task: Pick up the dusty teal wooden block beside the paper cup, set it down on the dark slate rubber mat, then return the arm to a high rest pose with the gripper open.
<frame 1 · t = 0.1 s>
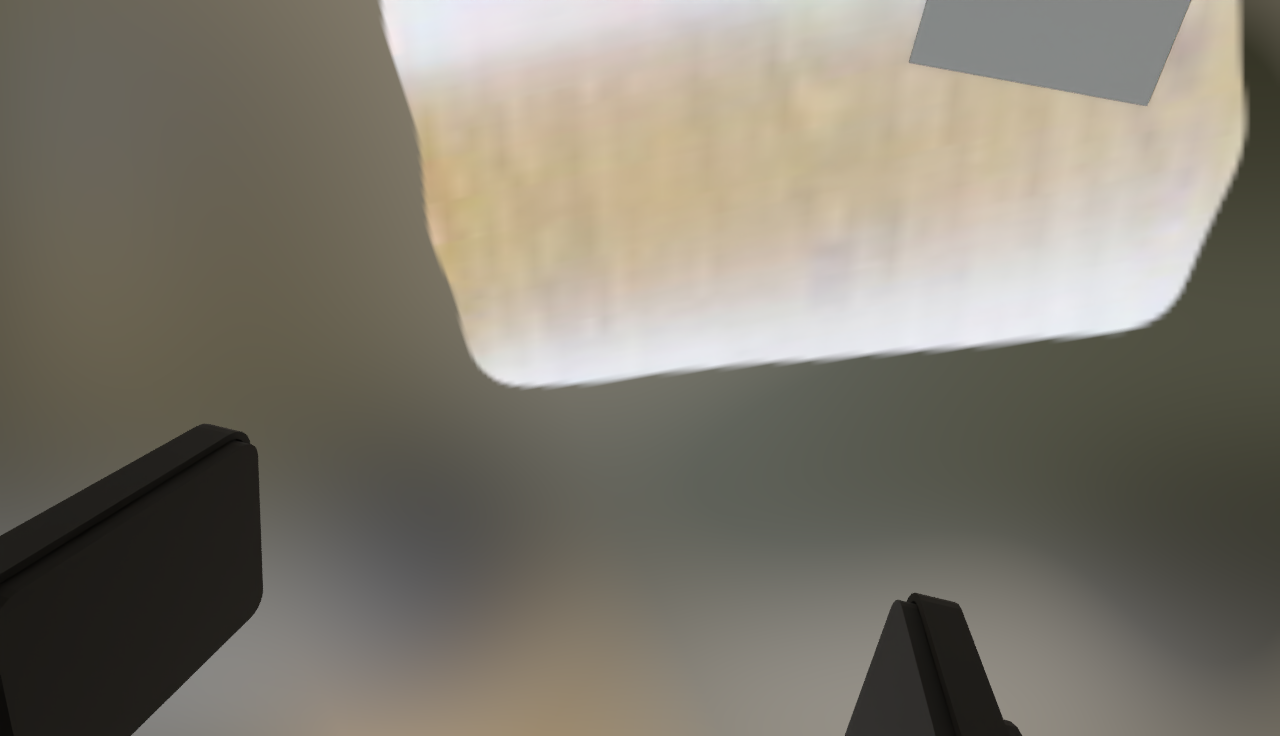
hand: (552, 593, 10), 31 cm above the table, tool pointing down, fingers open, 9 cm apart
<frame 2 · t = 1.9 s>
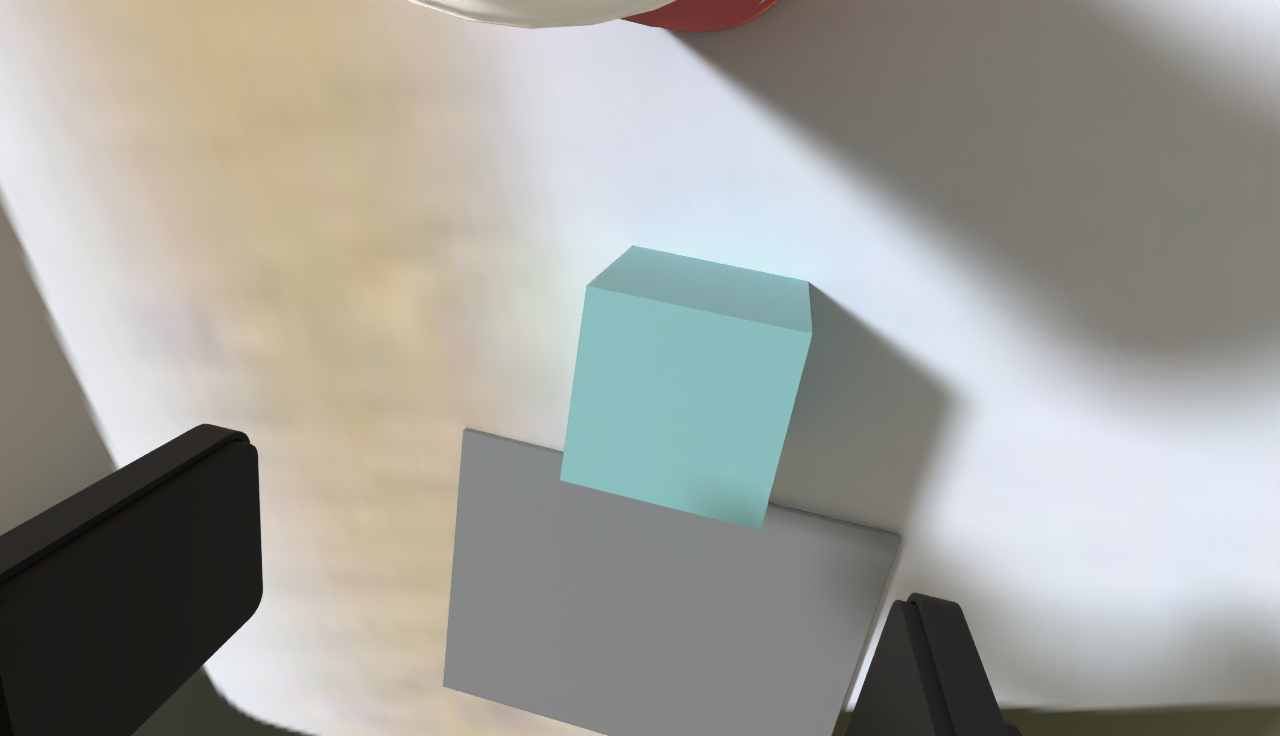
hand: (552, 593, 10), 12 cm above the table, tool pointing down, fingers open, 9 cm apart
teal block: (702, 345, 21), on the table
slate mat: (645, 617, 25), on the table
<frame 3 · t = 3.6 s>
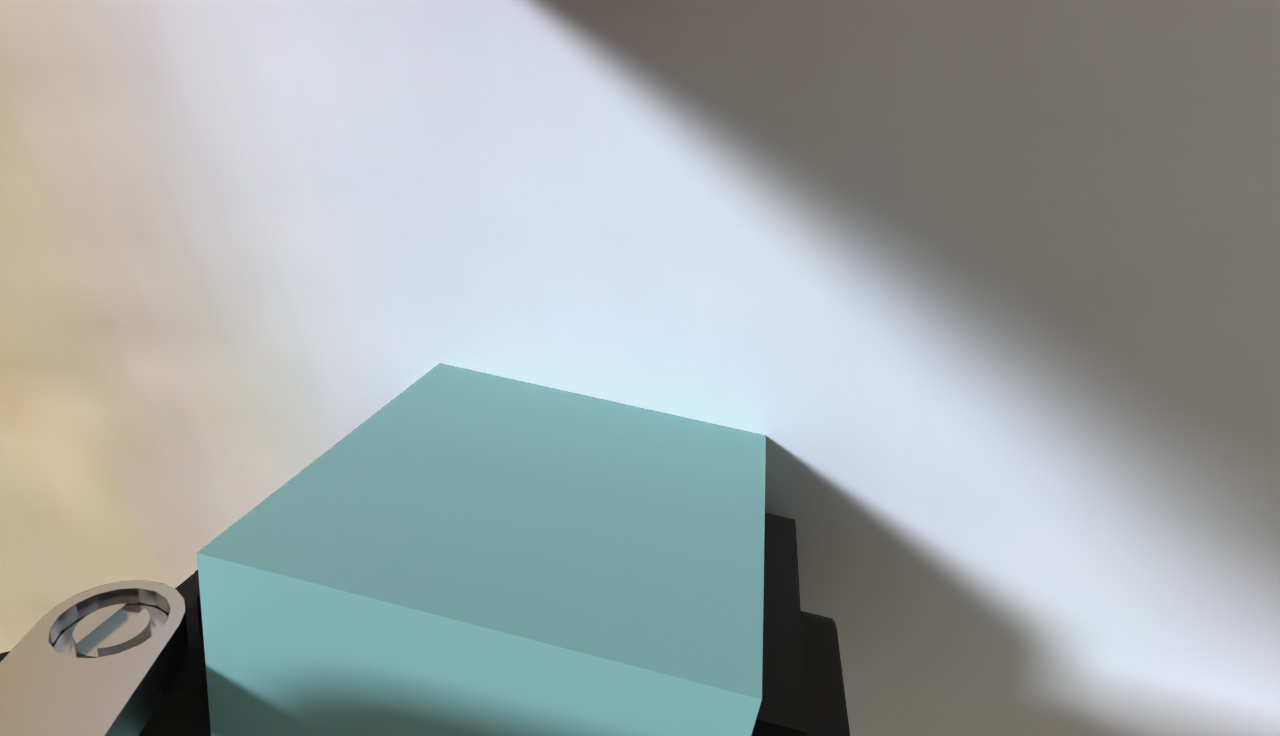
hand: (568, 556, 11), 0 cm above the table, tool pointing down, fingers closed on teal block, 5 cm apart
teal block: (577, 538, 12), on the table, touching gripper
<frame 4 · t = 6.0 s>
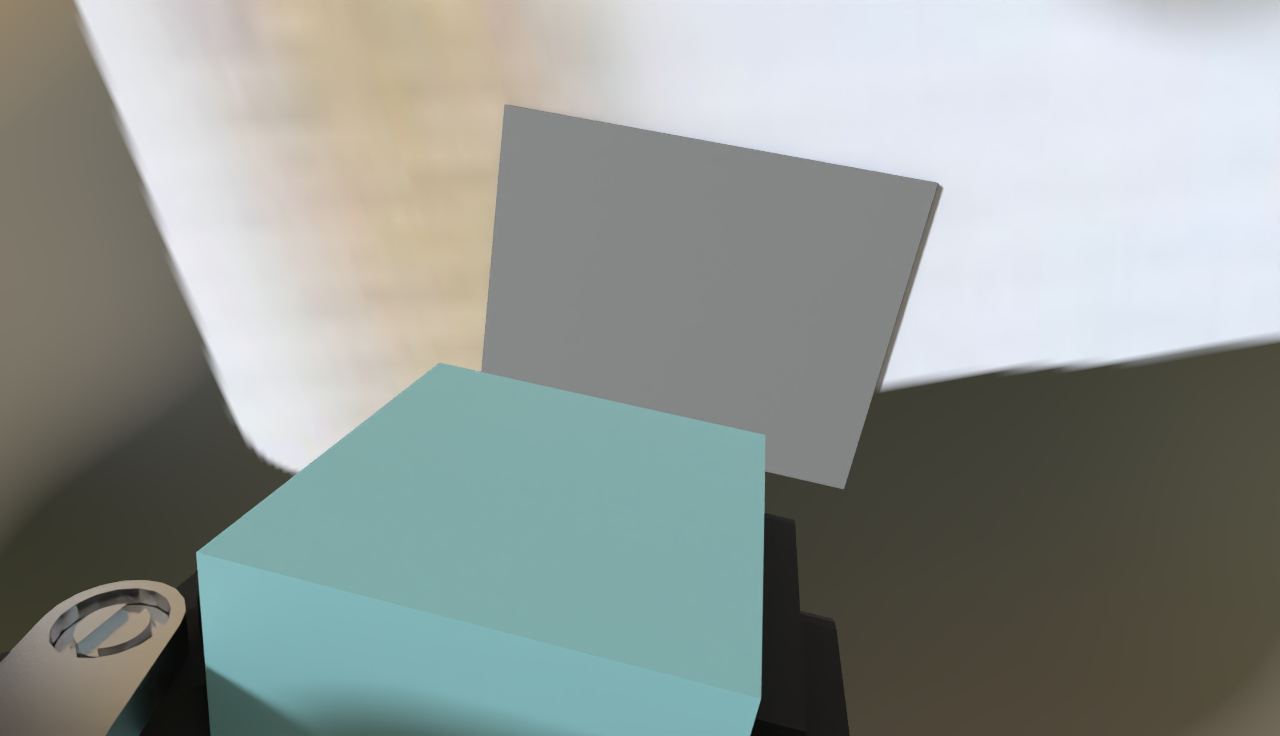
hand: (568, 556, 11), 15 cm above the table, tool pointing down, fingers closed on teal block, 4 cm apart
teal block: (577, 537, 12), point 15 cm above the table, touching gripper
slate mat: (683, 305, 25), on the table
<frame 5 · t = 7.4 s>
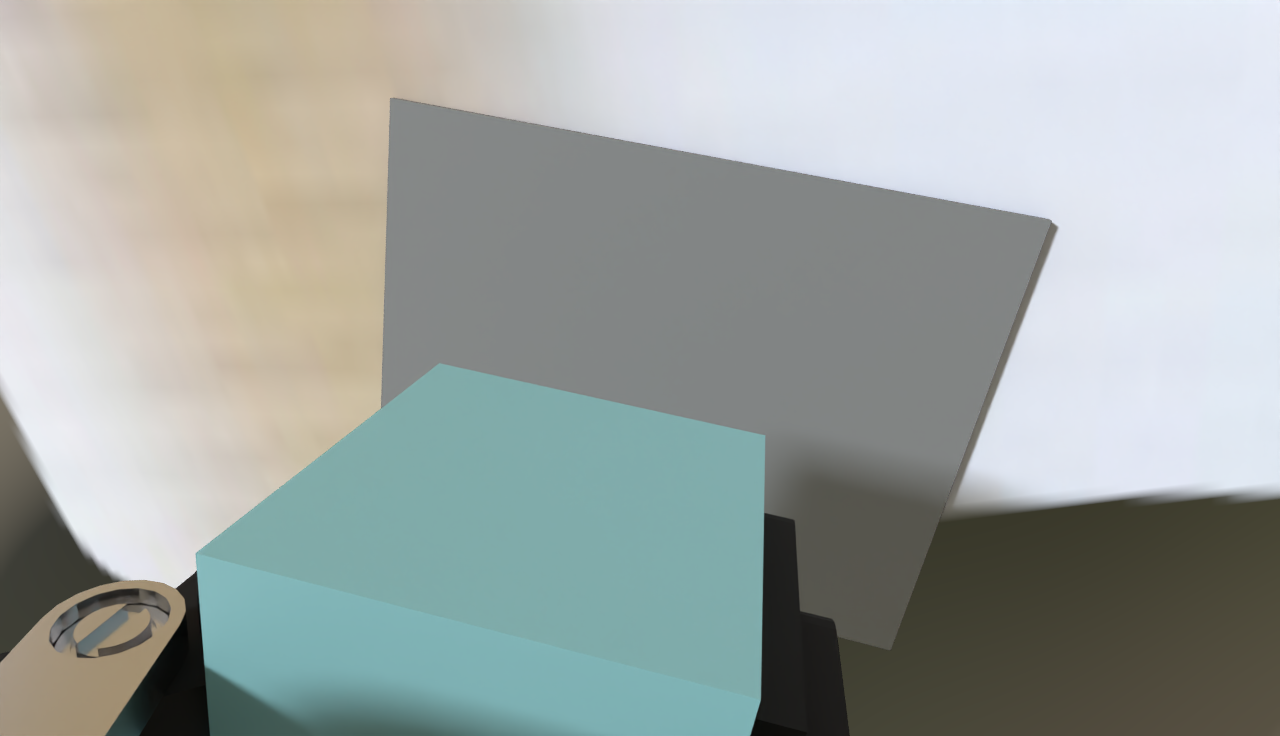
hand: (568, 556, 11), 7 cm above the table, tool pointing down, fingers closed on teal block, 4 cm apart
teal block: (576, 538, 12), point 6 cm above the table, touching gripper
slate mat: (660, 391, 17), on the table
when the fingers open (2 cm above the table, at t = 8.7 s): teal block drops 1 cm, resting on slate mat.
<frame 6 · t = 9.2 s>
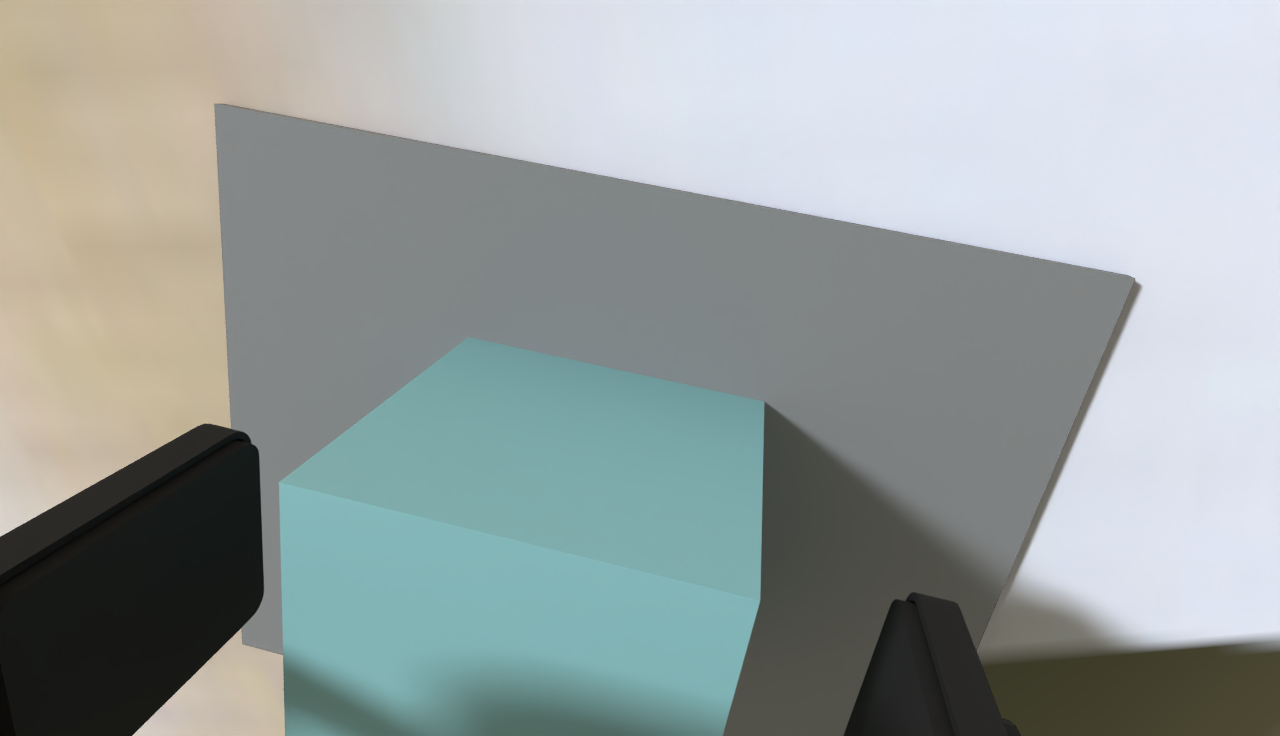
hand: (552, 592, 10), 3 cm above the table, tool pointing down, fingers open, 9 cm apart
teal block: (592, 498, 13), resting on slate mat
slate mat: (596, 494, 13), on the table
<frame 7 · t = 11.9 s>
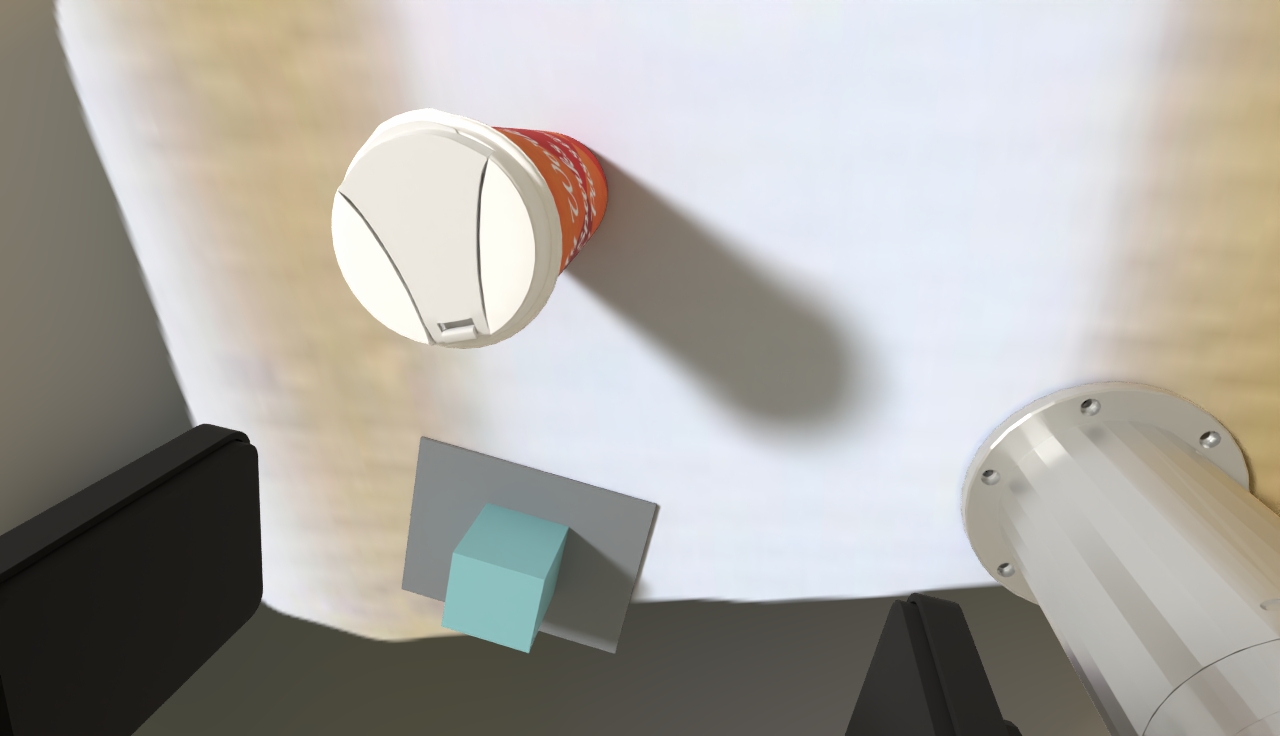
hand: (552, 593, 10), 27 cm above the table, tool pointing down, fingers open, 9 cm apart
paper cup: (553, 190, 35), on the table
teal block: (520, 549, 43), resting on slate mat
slate mat: (522, 547, 43), on the table
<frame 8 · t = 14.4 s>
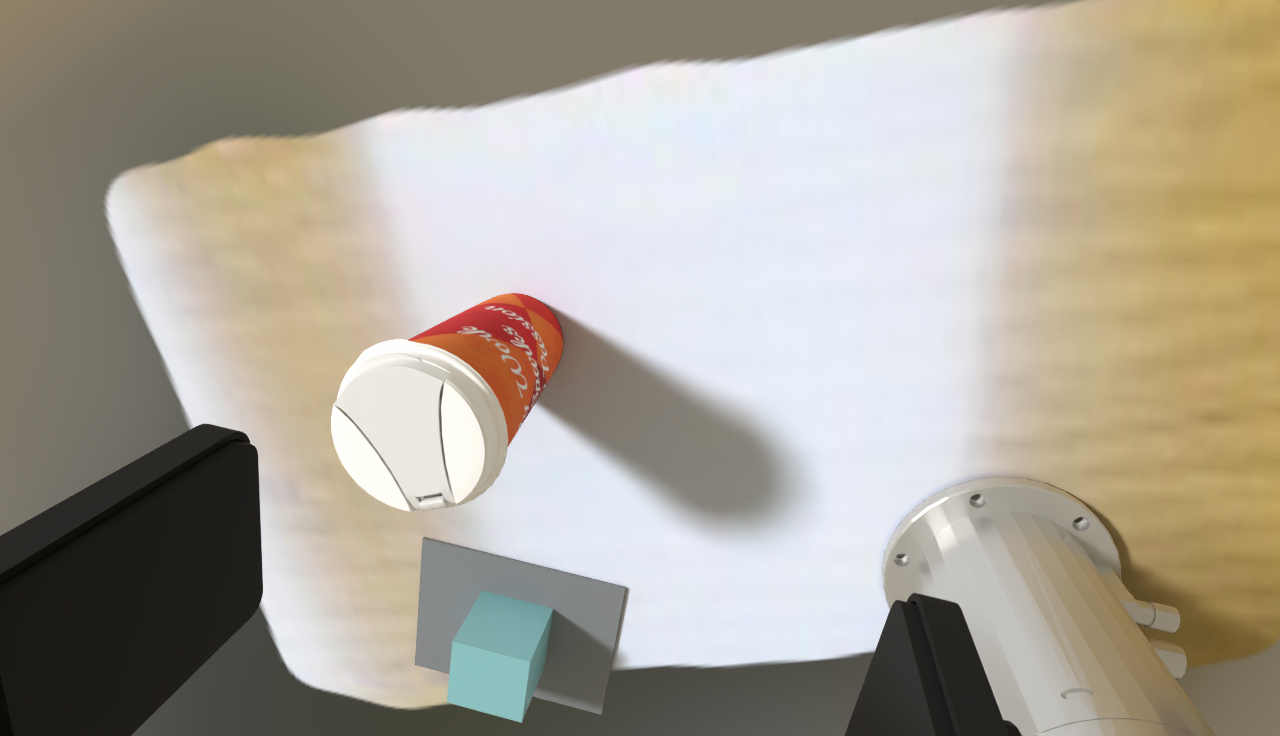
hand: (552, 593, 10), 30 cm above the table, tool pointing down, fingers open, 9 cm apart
paper cup: (519, 336, 42), on the table
teal block: (514, 628, 49), resting on slate mat
slate mat: (515, 627, 50), on the table
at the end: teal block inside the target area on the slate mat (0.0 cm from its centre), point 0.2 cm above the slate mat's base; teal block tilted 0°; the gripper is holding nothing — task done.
